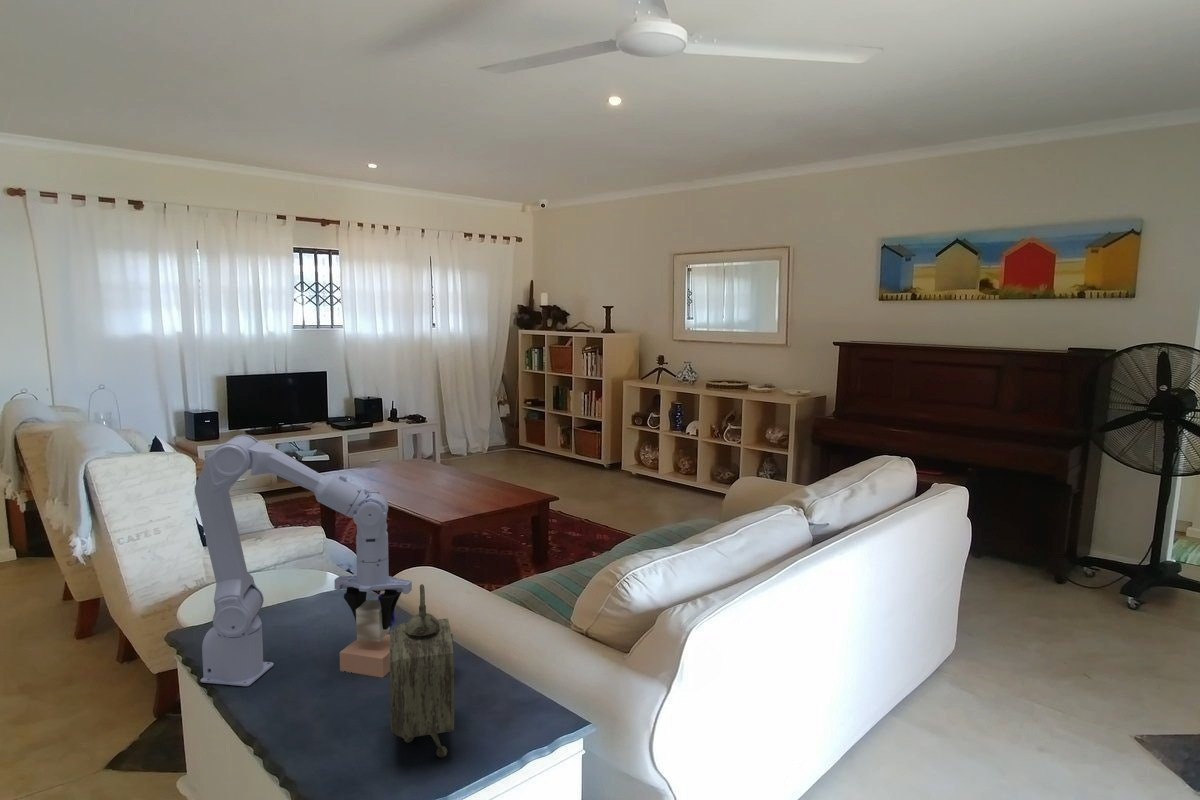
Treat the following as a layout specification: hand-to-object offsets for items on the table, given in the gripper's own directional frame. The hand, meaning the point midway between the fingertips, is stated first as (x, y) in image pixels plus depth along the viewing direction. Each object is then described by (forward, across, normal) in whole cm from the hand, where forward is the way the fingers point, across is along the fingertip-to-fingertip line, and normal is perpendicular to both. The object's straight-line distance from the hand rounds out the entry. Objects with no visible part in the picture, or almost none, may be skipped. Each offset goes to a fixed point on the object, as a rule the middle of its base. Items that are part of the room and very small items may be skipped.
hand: (374, 626), depth 131 cm
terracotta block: (+8, 0, 0) cm, 8 cm away
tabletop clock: (+8, +18, -22) cm, 29 cm away
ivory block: (+2, 0, 0) cm, 2 cm away
